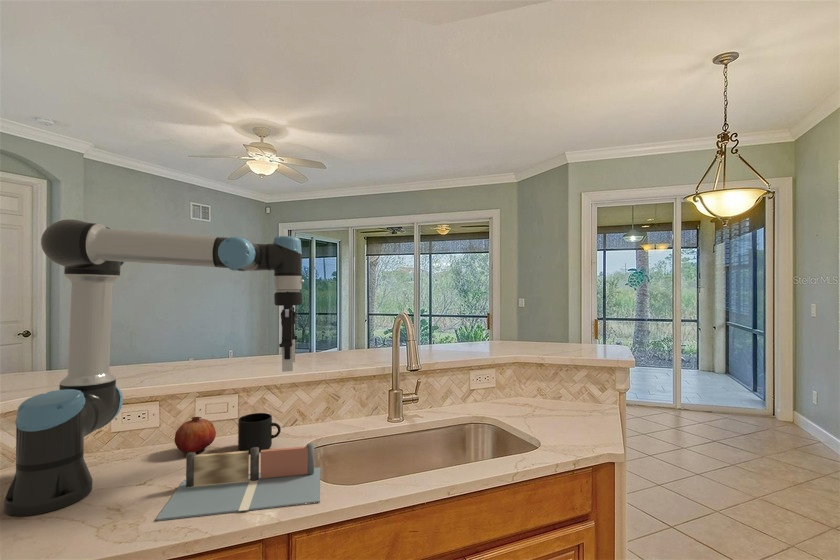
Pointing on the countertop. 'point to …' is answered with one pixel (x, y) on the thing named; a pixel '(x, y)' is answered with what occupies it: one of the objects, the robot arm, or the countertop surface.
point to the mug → (256, 431)
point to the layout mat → (242, 496)
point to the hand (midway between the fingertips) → (289, 366)
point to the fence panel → (287, 461)
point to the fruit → (195, 435)
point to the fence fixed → (221, 467)
